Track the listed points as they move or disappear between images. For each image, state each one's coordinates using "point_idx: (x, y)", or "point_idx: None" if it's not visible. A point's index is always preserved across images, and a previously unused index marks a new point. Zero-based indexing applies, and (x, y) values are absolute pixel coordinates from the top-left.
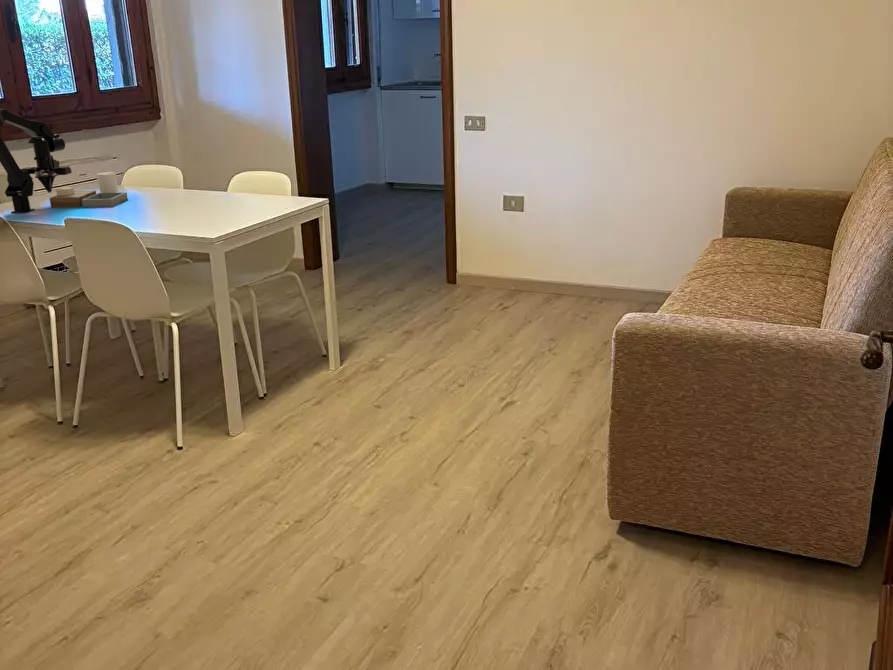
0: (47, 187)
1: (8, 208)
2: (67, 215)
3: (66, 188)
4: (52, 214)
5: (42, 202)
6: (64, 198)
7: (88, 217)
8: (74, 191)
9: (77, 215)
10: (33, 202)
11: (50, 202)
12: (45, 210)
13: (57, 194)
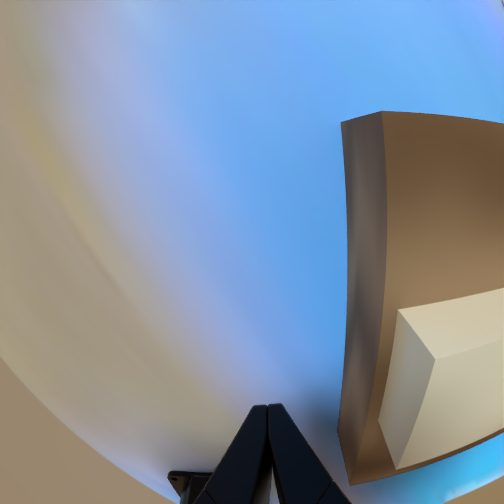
0: (269, 488)
1: (53, 411)
2: (451, 486)
3: (496, 403)
4: (398, 497)
5: (87, 215)
6: (451, 451)
7: (501, 473)
8: (481, 151)
9: (479, 475)
10: (20, 218)
11: (345, 460)
12: (332, 470)
13: (387, 427)
